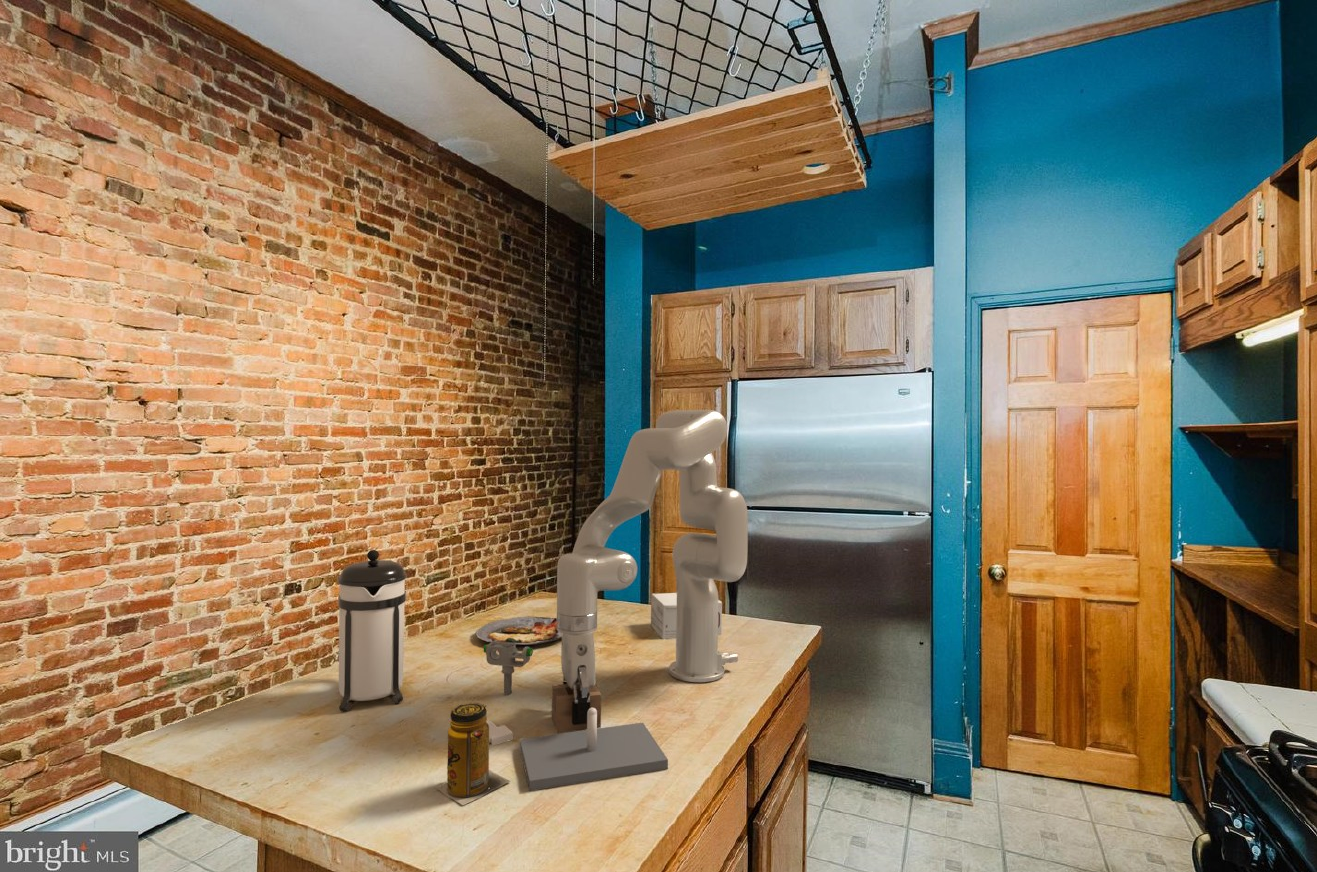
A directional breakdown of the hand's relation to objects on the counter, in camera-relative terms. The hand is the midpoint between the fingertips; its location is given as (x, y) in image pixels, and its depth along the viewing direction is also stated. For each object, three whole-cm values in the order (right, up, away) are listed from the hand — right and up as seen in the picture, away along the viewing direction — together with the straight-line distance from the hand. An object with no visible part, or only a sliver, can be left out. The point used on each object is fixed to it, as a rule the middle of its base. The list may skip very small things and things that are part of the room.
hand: (575, 712), depth 120 cm
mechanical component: (-16, -2, +13) cm, 20 cm away
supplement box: (+23, -3, +58) cm, 63 cm away
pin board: (+4, -2, -13) cm, 14 cm away
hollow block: (0, -2, 0) cm, 2 cm away
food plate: (-20, -2, +51) cm, 55 cm away
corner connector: (-16, -2, -6) cm, 17 cm away
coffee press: (-44, -2, +11) cm, 45 cm away
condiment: (-13, -2, -22) cm, 26 cm away
